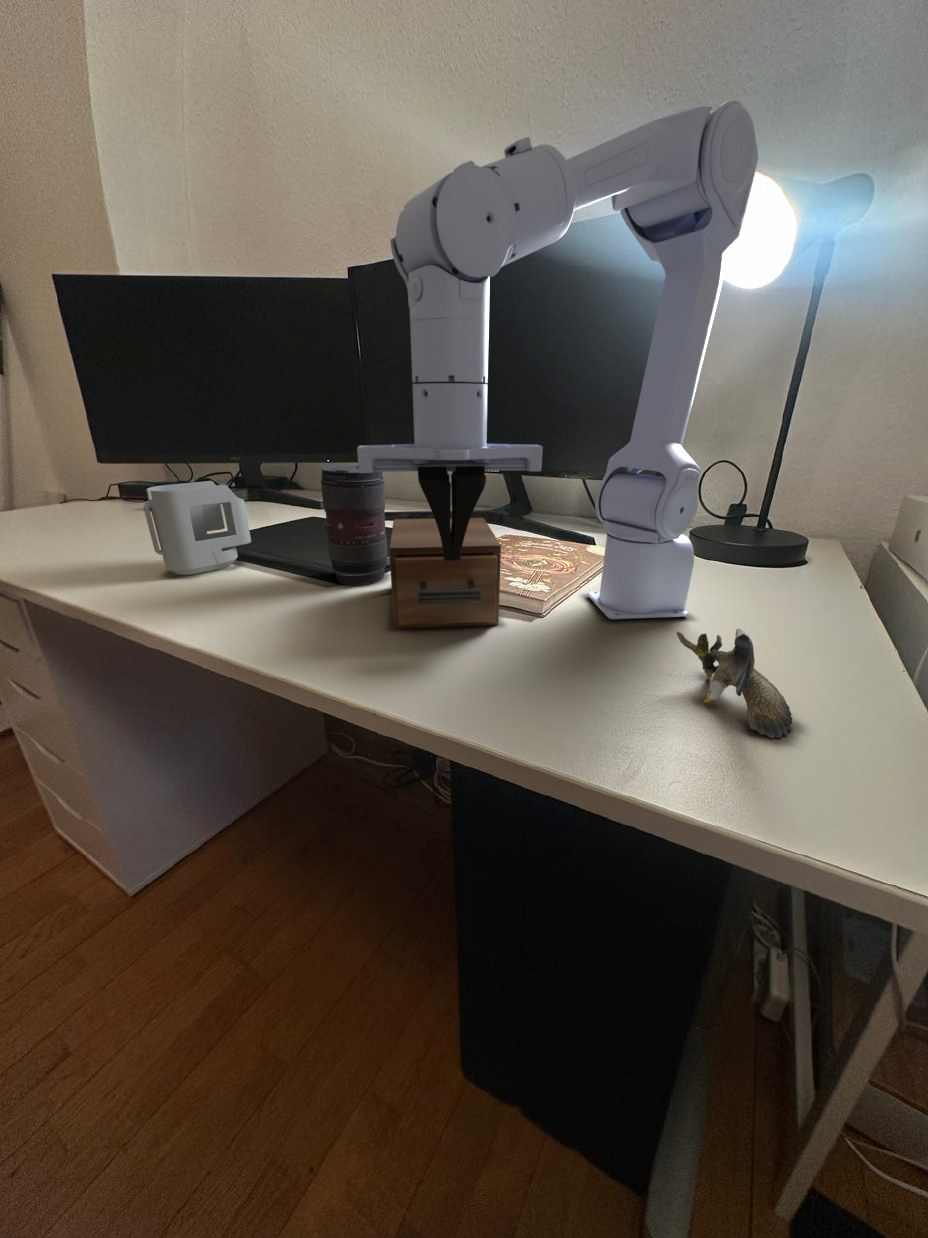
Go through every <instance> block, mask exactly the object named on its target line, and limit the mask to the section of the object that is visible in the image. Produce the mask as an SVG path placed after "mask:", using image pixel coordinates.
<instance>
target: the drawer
mask: <svg viewBox="0 0 928 1238" xmlns="http://www.w3.org/2000/svg"><path fill="white" fill-rule="evenodd" d="M429 555H443V554H428V555H403V557H396V558H395V565H396V582H397V600H398V618H399V625H420V624H447V623H473V622H495V605H496V572H497V557H496V555H495V554H487V553H468V554H461V560H460V561H444V558H443V556H429Z"/></svg>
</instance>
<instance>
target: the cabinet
mask: <svg viewBox="0 0 928 1238" xmlns="http://www.w3.org/2000/svg"><path fill="white" fill-rule="evenodd" d="M451 526H452V517H450V527H451ZM388 550H389V569H390V584H391V600H392V616H393V618H392V619H393V628H394V629H417V628H422V629H423V628H443V627H446V628H447V627H448V628H449V627H471V626H474V627H475V626H496V625H497V626H498V625H499V621H500V620H499V619H500V618H499V617H500V591H501V590H500V589H501V560H502V559H501V557H502V545H501V544H500V541H499V540H498V538H497V536H496V535H495V533H494V532H493V530H492V528H491V527H490V525H489V524H488V522H487V521H486V519H485V517H471V518H470V521H469V523H468V527H467V530H466V533H465V537H464V541H463V545H462V551H461V554H468V553H487V554H495V555H496V557H497V572H496V605H495V622H473V623H447V624H420V625H399V618H398V600H397V582H396V565H395V558H396V557H403V555H428V554H443V549H442V541H441V537H440V533H439V530H438V527H437V524H436V521H435V518H400V519H399V518H395V519H393V521H392V529H391V535H390V540H389V548H388Z"/></svg>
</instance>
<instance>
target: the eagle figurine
mask: <svg viewBox="0 0 928 1238" xmlns="http://www.w3.org/2000/svg"><path fill="white" fill-rule="evenodd" d="M676 636H677V638H678V640H679V642H680V643H681V644H682V645H683V646H684V647H686V648H687V649H689V650H691V651H692V652H693V653H694V654H695V655H696V656H697V658H698V659H699V661H700V662H701V665H702V670H703V671H704V672H703V673H704V674H705V675H706V677H707V678H708V679H711V678H712V681H711V684H710V686H709V689H708V693H707V696H706V698H705V699H703V703H705V704H709V703H710V702H711V701H713V700H717V699H719V698H720V697H721V696H722V694H723V692H724V691H725V689H727V688H728V687H729V686H732V687H735V693H736V695H737V696H738V697H742V695H743V698H744V700H745V703H746V706H747V717H748V718H747V719H748V724H749V728H750V729H751V730H755V731H757V733H758V734H759V735H766V736H767V737H769V738H771V739H774V738H777V739H780V738H782V736H783V735H787V734H788V730H791V728H792V727H791V725H793V717H792V716H793V714H792V712H791V710H790V706H789V705H788V704H787V701H786V699H785V697H784V696H783V694H782V693H781V692H780V691H779V690H778V688H777V687H776V686H775V685H774V684H773V683H772V682H771V681H770V680H769V679H768V678H766V677H765V675H764V674H762V673H761V672H759V671H758V670H757V669H756V668H755V664H756V663H755V652H754V651H755V649H754V645H753V641H752V638H750V636H749V634H748V633H747V631H745V630H744V629H742V628H740V627H738V628H736V630H735V638H734V646H733V649H732V650H729V651H724V650H720V649H721V648H722V647H723V642H722V637H721V635H719V634H717V635H716V640H715V643H714V644H712V646H711V647H710V646H709V639H708V635H707V633H701V634H700V635H699V636H698V638H697V643H696V644H695V643H693V642H692V641H690V640H689V639H688V638H687V637H685V635H684V634H683V633H682V632H681V631H676ZM709 647H710V648H709ZM716 662H717V663H718V665H716V666H715V664H714V663H716Z"/></svg>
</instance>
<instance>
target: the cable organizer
mask: <svg viewBox="0 0 928 1238" xmlns="http://www.w3.org/2000/svg"><path fill="white" fill-rule="evenodd" d="M145 490H146V495H147V500H148V502H146V503H145V504H143V512H144V515H145V518H146V523H147V528H148V531H149V534H150V538H151V542H152V546H153V550H154V552H155V553H156V554H158V555H160V556H162V558H163V559H162V560H163V563H164V566H165V569H167V570H168V571H170V572H172V573H173V574H175V575H182V576H189V575H195V574H201V573H206V572H210V571H211V572H213V571H221V570H224V569H228V568H230V567H231V566H232V565H233V564H234V563H235V561H236V560H237V559H238V557H239V555H238V549H237V547H238V546H239V547H240V546H244V545H249V544H250V543H252V538H251V532H250V526H249V525H250V524H249V521H248V515H247V508H246V505H245V499H244V498H240V497H238V496H236V494H235V493H234V492H233V491H232V489H230V488H229V486H228V485H227V484H221V485H216V484H215V482H213V481H212V480H207V481H205V480H204V481H194V482H185V483H173V484H164V485H163V484H162V485H156V486H150V487H147V488H146V489H145ZM221 504H222V505H221ZM222 509H223V510H222ZM224 518H225V519H224ZM225 524H226V525H225ZM225 528H227V529H226V530H224V529H225ZM221 530H224V531H221ZM215 531H217V532H215ZM208 532H210V533H208Z"/></svg>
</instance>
